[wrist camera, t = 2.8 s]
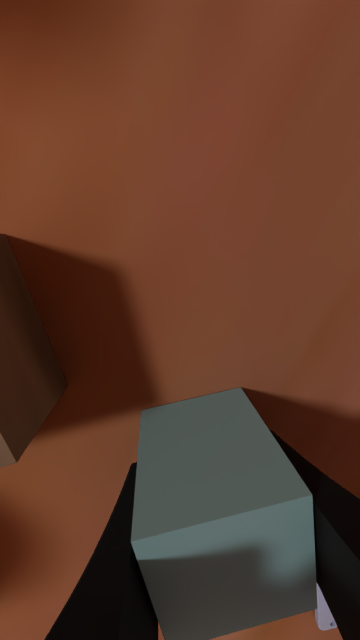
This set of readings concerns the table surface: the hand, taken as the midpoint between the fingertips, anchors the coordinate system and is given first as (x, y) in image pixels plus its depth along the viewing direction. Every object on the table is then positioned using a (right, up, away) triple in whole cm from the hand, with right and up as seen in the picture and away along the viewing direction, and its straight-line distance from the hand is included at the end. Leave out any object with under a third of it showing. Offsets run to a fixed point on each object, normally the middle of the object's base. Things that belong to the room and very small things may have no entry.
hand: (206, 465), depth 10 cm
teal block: (0, 0, +1) cm, 1 cm away
